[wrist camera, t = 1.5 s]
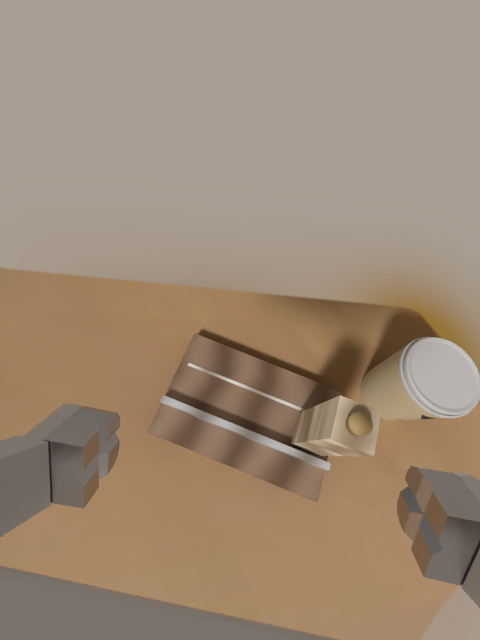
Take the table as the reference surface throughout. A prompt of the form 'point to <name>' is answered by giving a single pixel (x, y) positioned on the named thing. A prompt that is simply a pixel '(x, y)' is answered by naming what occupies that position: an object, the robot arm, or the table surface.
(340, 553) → the table surface
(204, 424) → the board
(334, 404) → the beige tall block
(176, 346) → the table surface
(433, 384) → the coffee cup
